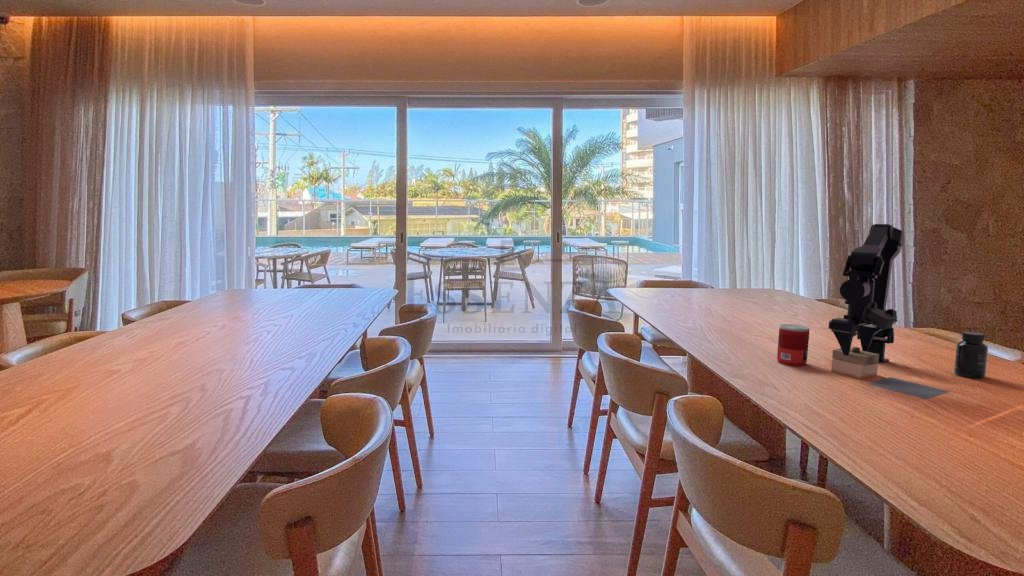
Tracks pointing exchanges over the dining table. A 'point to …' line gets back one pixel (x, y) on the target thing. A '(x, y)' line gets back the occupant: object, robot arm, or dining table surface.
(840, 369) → the tan box
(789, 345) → the canned food
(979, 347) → the supplement bottle
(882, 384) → the mat
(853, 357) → the lid
